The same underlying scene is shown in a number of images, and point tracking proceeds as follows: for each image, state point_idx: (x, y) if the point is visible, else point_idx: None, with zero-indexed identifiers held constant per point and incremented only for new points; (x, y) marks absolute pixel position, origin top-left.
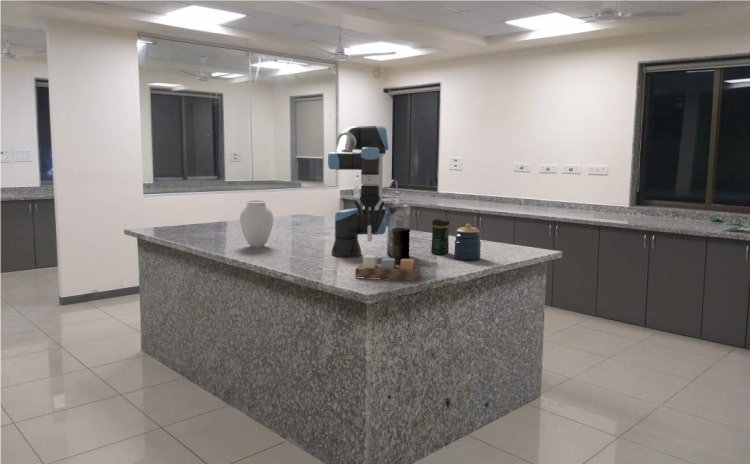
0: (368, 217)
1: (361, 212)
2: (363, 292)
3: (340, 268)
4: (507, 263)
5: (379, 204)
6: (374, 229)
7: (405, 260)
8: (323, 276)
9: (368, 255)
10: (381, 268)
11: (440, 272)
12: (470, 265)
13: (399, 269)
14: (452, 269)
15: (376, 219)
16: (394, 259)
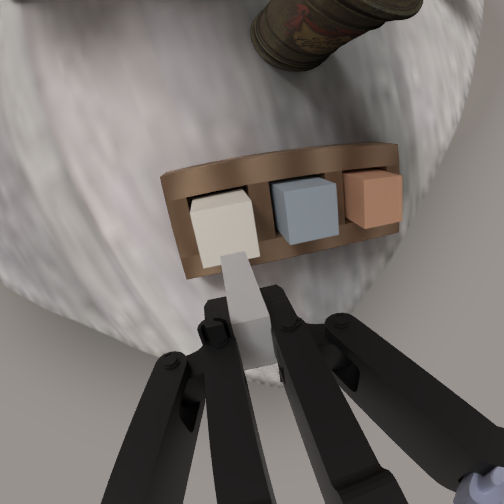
0: (250, 406)
1: (177, 488)
2: (271, 374)
3: (69, 136)
4: (479, 6)
5: (460, 497)
6: (288, 301)
7: (379, 212)
8: (86, 278)
9: (212, 217)
10: (280, 232)
11: (417, 91)
12: (444, 10)
13: (346, 225)
14: (430, 51)
15: (350, 391)
16: (336, 198)
